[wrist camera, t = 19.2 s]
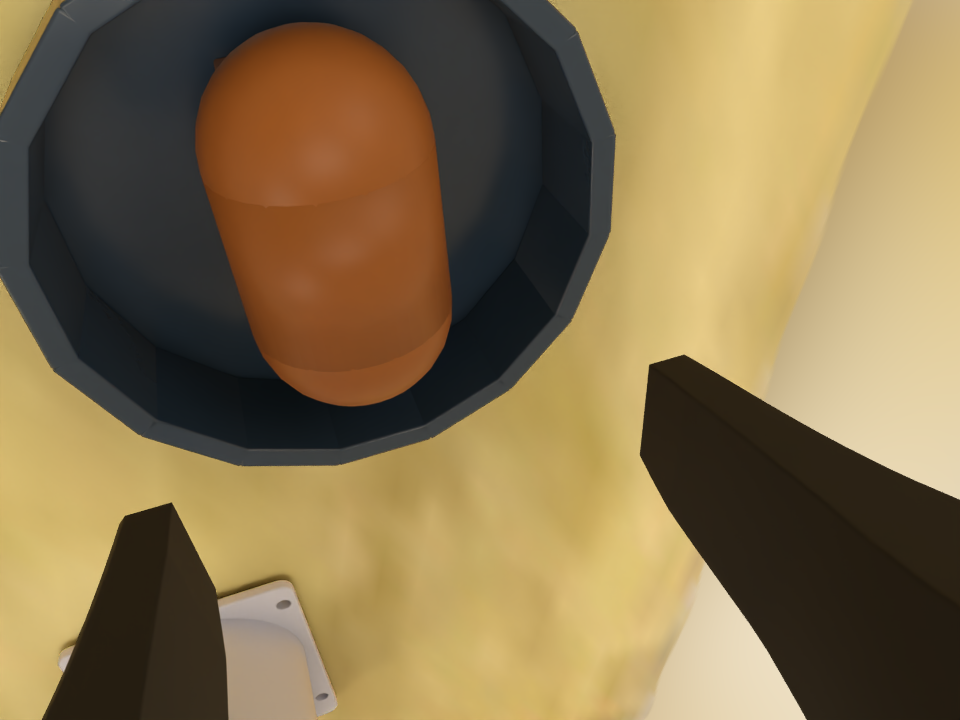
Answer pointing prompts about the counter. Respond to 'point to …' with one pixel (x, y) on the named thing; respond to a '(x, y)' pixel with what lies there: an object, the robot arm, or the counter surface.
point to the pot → (197, 242)
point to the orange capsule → (328, 209)
